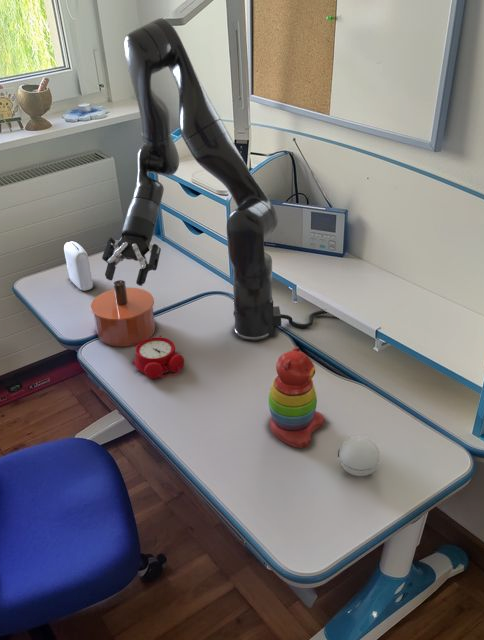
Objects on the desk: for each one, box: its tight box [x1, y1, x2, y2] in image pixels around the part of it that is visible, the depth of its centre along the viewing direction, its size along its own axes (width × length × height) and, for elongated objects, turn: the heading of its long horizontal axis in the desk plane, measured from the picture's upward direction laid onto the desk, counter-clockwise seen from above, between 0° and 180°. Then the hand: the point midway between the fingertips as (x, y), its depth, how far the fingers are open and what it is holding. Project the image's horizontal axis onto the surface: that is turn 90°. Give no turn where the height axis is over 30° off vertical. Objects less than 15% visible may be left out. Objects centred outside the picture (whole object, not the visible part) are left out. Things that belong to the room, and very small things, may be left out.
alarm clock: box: [131, 334, 185, 380], centre depth 152 cm, size 10×6×15 cm
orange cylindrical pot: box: [93, 307, 156, 347], centre depth 165 cm, size 15×15×8 cm
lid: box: [90, 279, 155, 321], centre depth 161 cm, size 16×16×7 cm
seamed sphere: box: [337, 435, 381, 477], centre depth 119 cm, size 10×7×7 cm
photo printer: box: [63, 240, 94, 291], centre depth 186 cm, size 10×4×12 cm, turn 32°
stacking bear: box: [268, 346, 326, 449], centre depth 128 cm, size 11×10×18 cm
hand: (123, 282), depth 162 cm, fingers open, 8 cm apart
